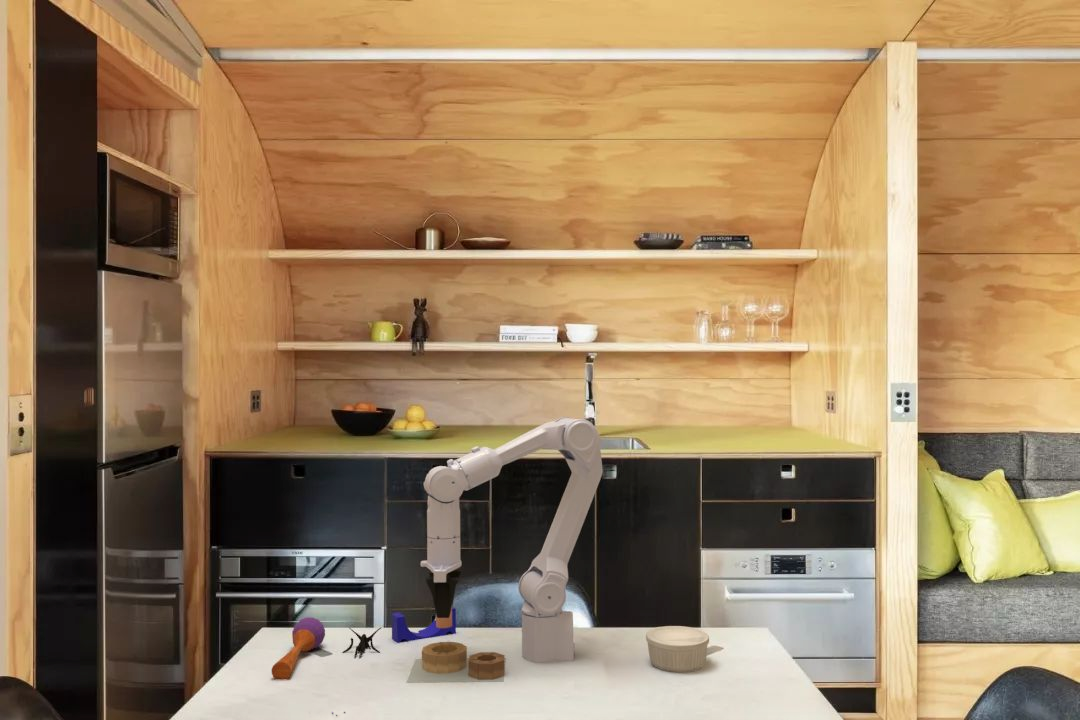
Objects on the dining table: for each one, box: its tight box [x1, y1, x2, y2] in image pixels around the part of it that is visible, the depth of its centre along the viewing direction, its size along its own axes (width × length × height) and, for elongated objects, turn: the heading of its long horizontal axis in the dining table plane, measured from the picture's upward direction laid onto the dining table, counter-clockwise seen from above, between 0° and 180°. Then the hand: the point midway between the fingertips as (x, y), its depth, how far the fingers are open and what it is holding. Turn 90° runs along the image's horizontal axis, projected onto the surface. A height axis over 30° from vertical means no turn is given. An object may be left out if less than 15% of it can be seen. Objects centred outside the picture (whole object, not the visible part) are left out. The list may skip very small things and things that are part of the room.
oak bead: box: [421, 641, 468, 674], centre depth 152 cm, size 8×8×3 cm
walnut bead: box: [468, 651, 506, 680], centre depth 148 cm, size 6×6×3 cm
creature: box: [341, 627, 382, 659], centre depth 160 cm, size 8×5×8 cm
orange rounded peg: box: [435, 606, 453, 628], centre depth 152 cm, size 3×3×7 cm
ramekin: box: [645, 625, 710, 673], centre depth 156 cm, size 11×11×5 cm
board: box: [406, 657, 506, 684], centre depth 150 cm, size 16×12×1 cm
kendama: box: [271, 617, 326, 680], centre depth 159 cm, size 6×6×20 cm
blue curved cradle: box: [391, 606, 457, 644], centre depth 170 cm, size 12×4×6 cm, turn 119°
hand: (444, 614), depth 152 cm, fingers closed on orange rounded peg, 3 cm apart
